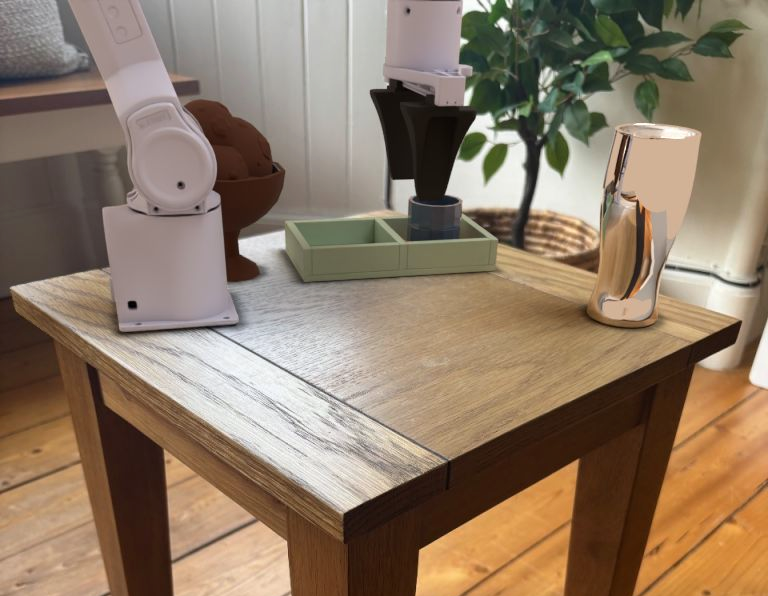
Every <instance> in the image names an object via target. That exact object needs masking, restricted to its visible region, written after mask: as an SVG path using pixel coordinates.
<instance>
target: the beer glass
mask: <svg viewBox="0 0 768 596" xmlns="http://www.w3.org/2000/svg"><path fill="white" fill-rule="evenodd" d="M702 136H703V135H702V132H701V131H699V130H697V129H694V128H690V127H686V126H680V125H673V124H666V123H665V124H664V123H651V122H650V123H649V122H648V123H647V122H632V123H631V122H630V123H623V124H622V123H621V124H618V125H616V126H615V128H614V133H613V138H612V141H611V145H610V149H609V153H608V158H607V162H606V165H605V171H604V176H603V181H602V188H601V195H600V207H599V258H598V259H599V261H598V268H597V269H598V271H597V276H596V280H595V283H594V287H593V289H592V292H591V294H590V298H589V300H588V303H587V307H586V313H587V315H588V316H589V317H590V318H591V319H592V320H594V321H596V322H598V323H601V324H604V325H607V326H611V327H617V328H618V327H619V328H626V329H627V328H628V329H629V328H631V329H632V328H633V329H634V328H635V329H636V328H644V327H650V326H651V325H653V324H655V323H656V322H657V320H658V317H659V300H660V299H659V298H660V286H661V281H662V278H663V273H664V270H665V267H666V265H667V261H668V259H669V257H670V255H671V252H672V249H673V247H674V245H675V242H676V239H677V237H678V234H679V232H680V229H681V228H682V225H683V222H684V219H685V216H686V213H687V211H688V207H689V203H690V199H691V196H692V191H693V187H694V181H695V177H696V173H697V172H696V171H697V164H698V160H699V159H698V158H699V152H700V151H699V150H700V144H701V139H702Z"/></svg>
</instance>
